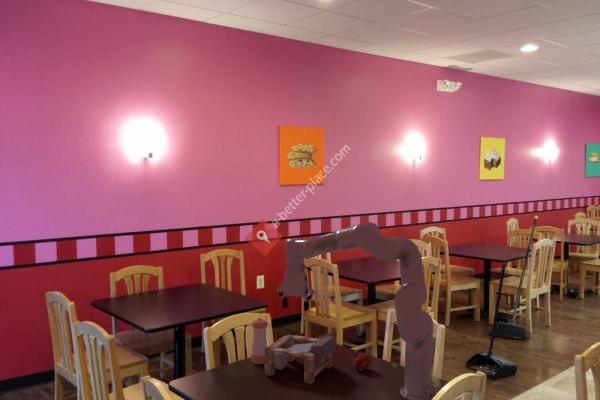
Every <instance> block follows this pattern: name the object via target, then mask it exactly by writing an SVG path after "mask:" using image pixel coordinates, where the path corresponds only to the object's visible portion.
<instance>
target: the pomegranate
mask: <svg viewBox="0 0 600 400" xmlns="http://www.w3.org/2000/svg"><path fill="white" fill-rule="evenodd" d="M353 356H355V359H354V361H353V365H354V368H355V369H356V370H357V371H359V372H363V371H364V370H365V369H366V368H367V369H368V370H369V372H372V370H371V369H370V368H369V367H368V366H369V365H370V364H371V362H372V361H373V359H372V357H371V356H370V355H369V354H367V353H365V352H363V353H359V354H358V355H357V354H356V353H354V354H353Z"/></svg>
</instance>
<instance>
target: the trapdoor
mask: <svg viewBox="0 0 600 400" xmlns="http://www.w3.org/2000/svg"><path fill="white" fill-rule="evenodd" d="M319 339H320V340H319V341H317V342H316V343H312V342H304V343H294V344H292V345H291V346H289V347H288V348H286V349H288V350H294V351H300V352H306V353H312V354H315V358H314V360H320V359H321V360H322V358H325V357H326V356H328V355H329V354H330V353H331V352H332V353H333V352H334V351H335V350H337V344H336V340H335V336H333V335H332V336H324V337H322V338H319ZM285 356H292V355H286V354H280V353H278V354H277V357H285Z"/></svg>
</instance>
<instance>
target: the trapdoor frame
mask: <svg viewBox="0 0 600 400" xmlns="http://www.w3.org/2000/svg"><path fill="white" fill-rule="evenodd" d="M320 339H321V338H316V337H309V336H302V335H296V334H291V333H290V334H289V333H287V334H286V335H283V337H281V338H279V339H278V340H275V342H273V343H271V344H269V345H267V347H266V348H265V364H264V376H269V377H272V376H274V375H275V374H276V373H275V372H276V369H275V353H280V354H286V355H292V356H287V362H290V363H291V362H293V361H294V360H295V357H297V358H298V357H299V358H303V359H304V362H303V363H304V364H303V367H304V371H303V372H304V373H303V376H304V377H303V379H304V383H305V384H309V385H312V384H313V383H314V382H315V377H316V376H317V375H319V374H320V373H321V372H322V371H323V370H325V369H331V367H332V366H333V352H331V353H330V354H329V355H328V356H326V357H325V358H322V359H321V360H320V361H319V362H318V363H316V364H315V359H314V358H315V354H312V353H306V352H300V351H294V350H288V349H286V348H288V347H289V346H291V345H292V344H295V341H301V342H304V343H316V342H317V341H319V340H320ZM283 345H284V348H282V347H281V346H283ZM304 383H303V384H304Z"/></svg>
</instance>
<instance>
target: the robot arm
mask: <svg viewBox="0 0 600 400" xmlns="http://www.w3.org/2000/svg"><path fill="white" fill-rule="evenodd" d="M352 249H360V250H362V251H364V252H365V253H366V254H369V255H370V256H372V257H374V258H375V259H377V260H379V261H381V262H383V263H389V264H390V263H393V262H395V261H397V260H398V261H399V274H400V282H401V287H400V288H399V289H398V290H397V291H396V293H395V296H394V308H395V309H394V310H395V316H396V317H395V318H396V326H397V331H398V334H399V336H400V338H401V339H402V340H403V341H404V342H405V347H404V386H403V387H401V388H400V392H399V393H400V395H401V396H402V398H403V399H406V400H430V399H431V398H433V396H434V395H435V394H436V393H437V392H438V391H439V390H440V389H441V388H440V387H436V386H434V382H432V355H433V354H432V345H433V333H434V320H433V318H432V316H431V315H430V313H429V312H427V311H426V310H423V309H422V307H423V305H425V303H426V301H427V299H428V291H427V287H426V280H425V274H424V273H425V272H424V267H423V260H422V254H421V252H420V250H419V247H418V246H417V244H416V243H415V242H413V241H412V240H411V239H410V238H408V237H405V236H400V235H396V236H395V235H394V236H391V237H388V238H387V237H386V236H383V235H381V230H380V227H379V226H378V224H376V223H374V222H371V221H369V222H368V221H367V222H363V223H359V224H356V225H352V226H348V227H344V228H339V229H336V231H334V232H331V233H327V234H324V235H320V236H315V237H311V238H308V239H303V238H300V237H292V238H288V239H286V240H285V270H284V275H283V280H282V281H283V282H282V285H280V286H278V287H276V291H277V294H278V295H279V297H280V299H281V300H282V301H281V303H282V309H283V310H285V309H288V307H289V306H288V305H289V304H288V303H289V299H288V296H290V297H291V296H292V297H302V298H303V300H304V301H303V311H304V312H307V311H309V310H310V301H311V299H312V298H313V297H314V295H315V293H316V290H314V289H313V288H312V287H310V286H309V279H308V275H307V271H306V270H307V269H308V266H306V265H305V259H312V258H315V257H318V256H321V255H325V254H328V253H333V252H337V251H341V252H344V251H348V250H352ZM441 390H442V389H441ZM435 396H436V395H435Z"/></svg>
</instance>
